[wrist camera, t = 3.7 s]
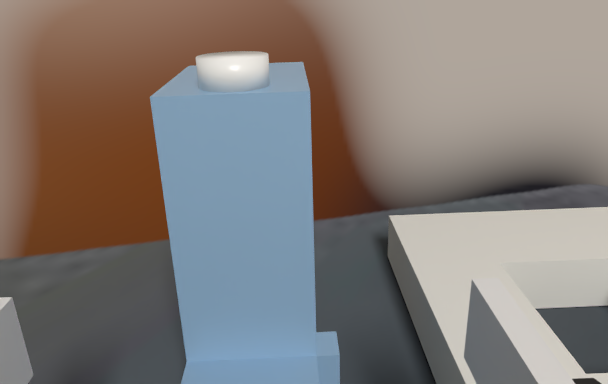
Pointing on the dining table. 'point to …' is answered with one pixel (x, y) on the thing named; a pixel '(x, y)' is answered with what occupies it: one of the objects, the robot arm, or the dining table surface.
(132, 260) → the dining table surface
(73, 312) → the dining table surface
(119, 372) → the dining table surface
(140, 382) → the dining table surface
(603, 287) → the frame
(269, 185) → the servo
